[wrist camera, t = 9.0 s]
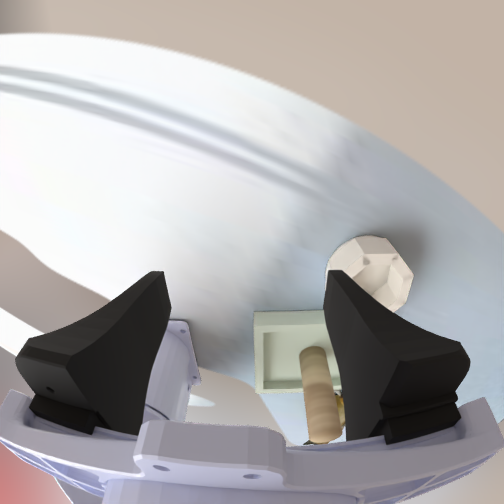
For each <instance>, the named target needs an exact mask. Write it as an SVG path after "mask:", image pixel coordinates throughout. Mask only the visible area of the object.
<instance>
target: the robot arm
mask: <svg viewBox="0 0 504 504" xmlns="http://www.w3.org/2000/svg"><path fill="white" fill-rule="evenodd" d="M323 309H324V316H325V322H326V328H327V331H328V334H329V338H330V341H331V345H332V348H333V351H334V355H335V358H336V362H337V365H338V370H339V374H340V381H341V387H342V395H343V403H344V413H345V426H346V442H338V443H330V444H320V445H309V446H294V447H286V441H285V439H284V437H283V436H282V434H280V433H279V432H276V431H274V430H271V429H269V428H266V427H258V426H249V425H220V424H204V423H192V422H185V417H186V412H187V407H188V402H189V397H190V392H191V387H192V385H200V384H201V378H200V374H199V370H198V366H197V362H196V357H195V353H194V349H193V345H192V340H191V336H190V331H189V326H188V324H187V323H186V322H184V321H172V320H169V317H170V312H171V304H170V299H169V295H168V290H167V286H166V281H165V276H164V271H151V272H149V273H148V274H146V275H145V276H144V277H142V278H141V279H140V280H138V281H137V282H136V283H135V284H133V285H132V286H131V287H129V288H128V289H127V290H126V291H124V292H123V293H122V294H120V295H119V296H118V297H116V298H115V299H113V300H112V301H111V302H109V303H108V304H107V305H105V306H104V307H102V308H101V309H99V310H97V311H96V312H94V313H92V314H91V315H89V316H87V317H85V318H83V319H81V320H79V321H77V322H75V323H73V324H71V325H68V326H66V327H64V328H61V329H58V330H56V331H53V332H50V333H47V334H43V335H40V336H36V337H33V338H29V339H28V340H27V342H26V343H25V345H24V346H23V348H22V349H21V351H20V352H19V354H18V355H17V357H16V359H15V362H16V366H17V368H18V370H19V372H20V374H21V375H22V377H23V378H24V379H25V381H26V382H27V384H28V385H29V386H30V387H31V389H32V390H33V391H34V393H35V396H34V398H33V399H32V398H30V397H29V396H27V395H25V394H23V393H20V392H18V391H16V390H13V389H10V391H9V392H8V394H7V396H6V398H5V400H4V402H3V403H2V405H1V407H0V442H1V443H2V444H3V445H5V446H6V447H7V448H8V449H9V450H10V451H12V452H13V453H14V454H16V455H17V456H18V457H19V458H20V459H22V460H23V461H25V462H27V463H29V464H30V465H32V466H34V467H37V468H38V469H40V470H42V471H44V472H46V473H48V474H50V475H52V476H54V478H55V480H56V482H57V483H58V485H59V486H60V488H61V489H62V490H63V492H64V493H65V494H66V496H67V497H68V498H69V500H70V501H71V502H72V504H396V503H399V502H402V501H405V500H408V499H411V498H414V497H416V496H419V495H422V494H424V493H426V492H429V491H431V490H434V489H436V488H439V487H441V486H444V485H446V484H448V483H451V482H453V481H455V480H457V479H460V478H462V477H464V476H466V475H468V474H470V473H472V472H473V471H475V470H476V469H477V468H479V467H480V466H481V465H483V464H484V463H485V462H487V461H488V460H489V459H490V458H492V457H493V456H494V455H495V454H496V453H498V452H499V451H500V450H501V449H502V448H503V447H504V439H503V436H502V434H501V432H500V429H499V427H498V424H497V422H496V420H495V418H494V415H493V413H492V411H491V409H490V407H489V405H488V403H487V401H486V399H485V397H482V398H479V399H477V400H474V401H471V402H468V403H466V404H464V405H462V406H460V407H459V408H457V406H456V404H455V402H456V401H457V400H458V396H457V394H456V392H455V391H456V389H457V388H458V386H459V385H460V384H461V382H462V381H463V379H464V378H465V376H466V374H467V372H468V371H469V367H470V358H469V357H468V355H467V353H466V351H465V350H464V348H463V346H462V345H461V343H460V342H458V341H454V340H451V339H448V338H445V337H441V336H439V335H436V334H434V333H431V332H429V331H426V330H424V329H422V328H420V327H418V326H416V325H414V324H412V323H410V322H408V321H406V320H405V319H403V318H401V317H400V316H398V315H396V314H395V313H393V312H392V311H390V310H389V309H387V308H386V307H385V306H383V305H382V304H381V303H379V302H378V301H377V300H376V299H374V298H373V297H372V296H371V295H369V294H368V293H367V292H366V291H365V290H364V289H363V288H361V287H360V286H359V285H358V284H357V283H356V282H355V281H354V280H353V279H352V278H350V277H349V276H348V275H347V274H346V273H345V272H344V271H343V270H328V276H327V283H326V291H325V298H324V305H323ZM182 329H183V330H182ZM184 330H185V331H184Z"/></svg>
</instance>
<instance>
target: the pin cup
mask: <svg viewBox="0 0 504 504" xmlns="http://www.w3.org/2000/svg"><path fill="white" fill-rule="evenodd" d="M328 270H343V271H344V272H345V273H346V274H347V275H348V276H349V277H350V278H352V279H353V280H354V281H355V282H356V283H357V284H358V285H359V286H360V287H361V288H363V289H364V290H365V291H366V292H367V293H368V294H369V295H371V296H372V297H373V298H374V299H376V300H377V301H378V302H379V303H381V304H382V305H383V306H385V307H386V308H387V309H389V310H390V311H392V312H393V313H394V312H395V311H396V310H398V309H399V308H400V307H401V306H403V305H404V304H405V303H406V300H407V297H408V294H409V290H410V287H411V284H412V280H413V277H414V274H413V273H412V272H411V270H410V269H409V268H408V266H407V265H406V263H405V262H404V261H403V259H402V258H401V257H400V255H399V254H398V252H397V251H396V250H395V248H394V247H393V246H392V245H391V243H390V242H389V241H388V240H387V239H386V238H380V237H378V236H373V235H363V236H358V237H355V238H352V239H350V240H348V241H346V242H345V243H343V244H342V245H341V246H339V247H338V248H337V249H336V250H335V252H334V253H333V254H332V256H331V257H330V259H329V260H328V263H327V266H326V271H325V279H326V283H327V276H328ZM326 283H325V291H326Z"/></svg>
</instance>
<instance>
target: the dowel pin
mask: <svg viewBox="0 0 504 504" xmlns="http://www.w3.org/2000/svg"><path fill="white" fill-rule="evenodd" d="M299 362H300V369H301V377H302V384H303V392H304V400H305V408H306V416H307V424H308V433H309V440H310V441H312V442H316V443H323V442H329V441H332V440H335V439H337V438H338V437H340V436H341V435H342V428H341V422H340V417H339V412H338V408H337V403H336V398H335V393H334V389H333V384H332V379H331V375H330V370H329V366H328V361H327V357H326V353H325V350H324V349H323V348H321V347H319V346H311V347H307V348H305V349H304V350H302V351H301V352H300V354H299Z"/></svg>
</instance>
